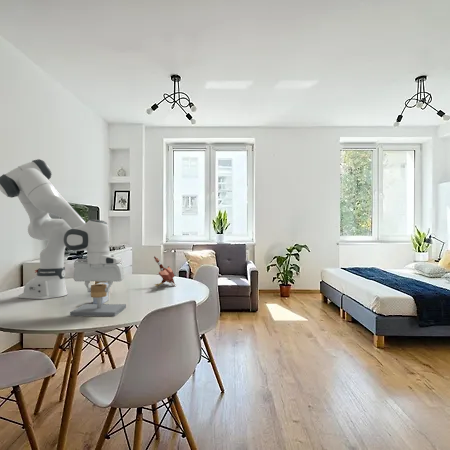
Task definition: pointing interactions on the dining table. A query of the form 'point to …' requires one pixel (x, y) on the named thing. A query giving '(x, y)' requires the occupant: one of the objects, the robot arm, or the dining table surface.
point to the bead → (98, 290)
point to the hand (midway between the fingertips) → (98, 292)
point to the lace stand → (98, 309)
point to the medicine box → (103, 299)
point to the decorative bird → (165, 273)
